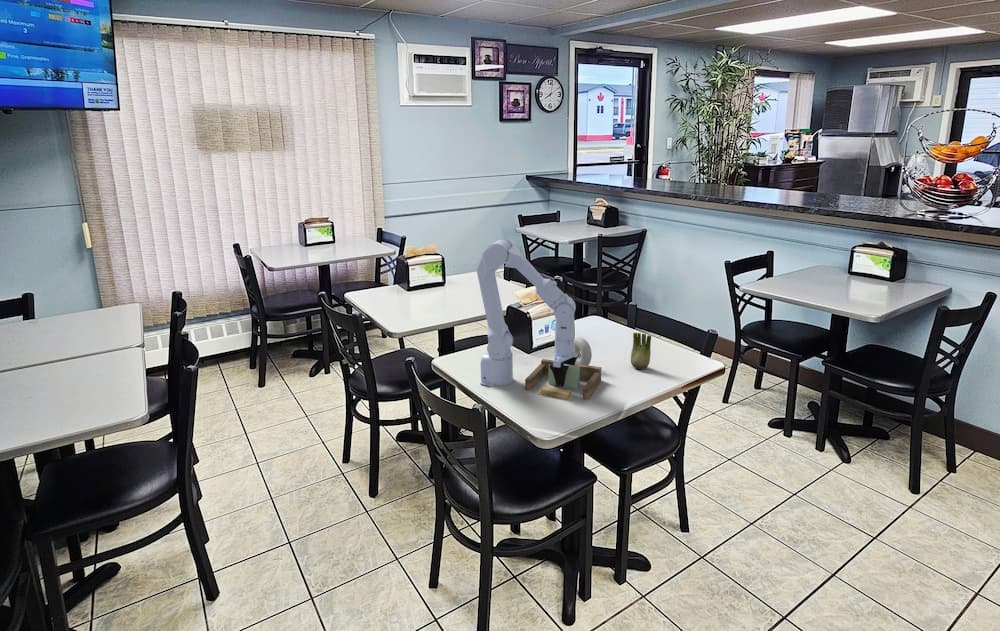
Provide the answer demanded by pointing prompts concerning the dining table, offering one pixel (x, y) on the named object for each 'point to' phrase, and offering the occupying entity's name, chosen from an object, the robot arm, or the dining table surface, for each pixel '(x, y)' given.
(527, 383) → the frame
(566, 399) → the offcut lower
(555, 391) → the offcut upper
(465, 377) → the dining table surface
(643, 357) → the fennel bulb
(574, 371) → the board
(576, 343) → the donut
